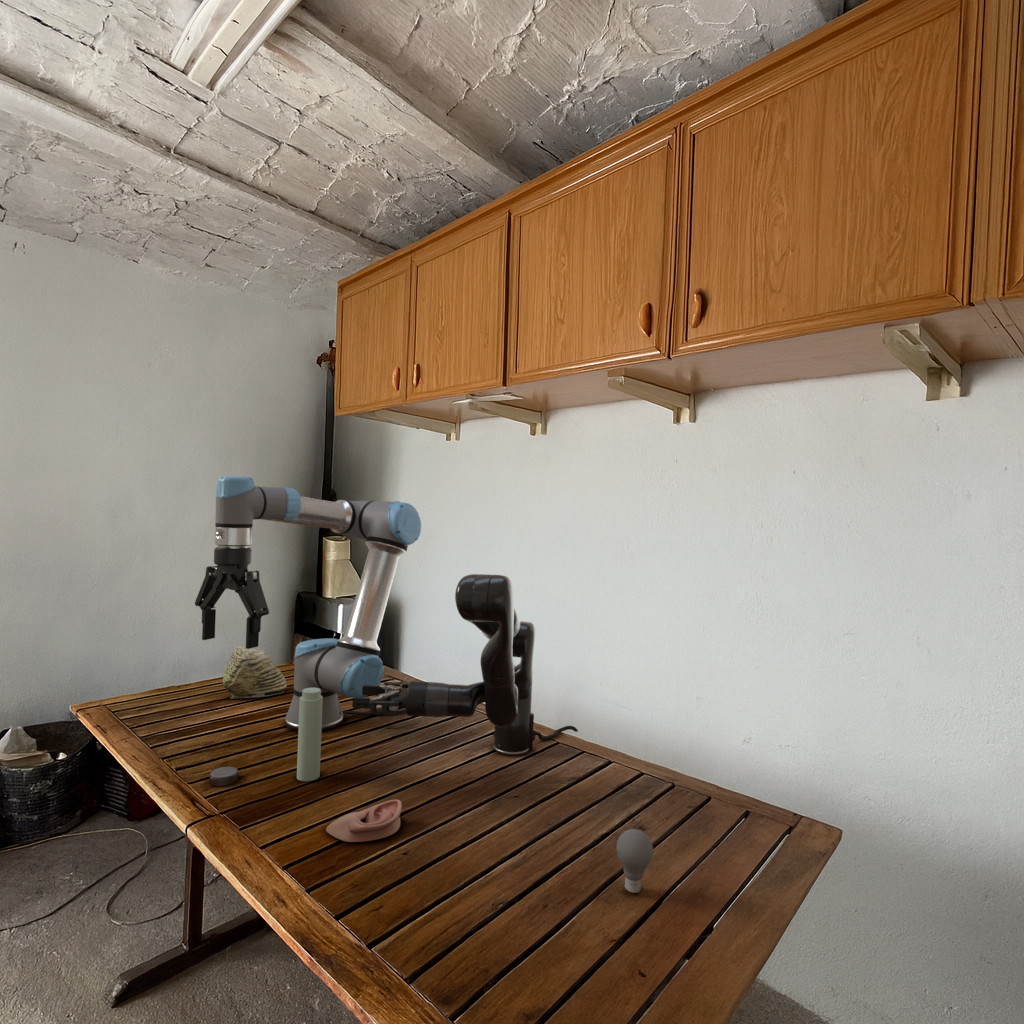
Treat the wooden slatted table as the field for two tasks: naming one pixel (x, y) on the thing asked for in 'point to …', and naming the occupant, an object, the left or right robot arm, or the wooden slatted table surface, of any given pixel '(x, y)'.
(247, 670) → the fossil
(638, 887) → the light bulb
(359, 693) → the left robot arm
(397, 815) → the anatomical model
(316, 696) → the pale green cylinder
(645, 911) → the wooden slatted table surface
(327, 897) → the wooden slatted table surface
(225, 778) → the lid
